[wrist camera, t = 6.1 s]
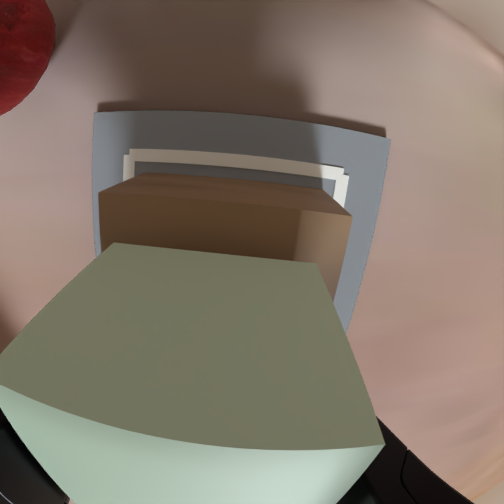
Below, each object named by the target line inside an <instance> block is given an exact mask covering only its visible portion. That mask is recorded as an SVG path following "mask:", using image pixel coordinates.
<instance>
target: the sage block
mask: <svg viewBox="0 0 504 504" xmlns="http://www.w3.org/2000/svg"><path fill="white" fill-rule="evenodd" d="M0 408H1V409H2V411H3V413H4V414H5V416H6V417H7V419H8V421H9V422H10V424H11V425H12V427H13V428H14V430H15V431H16V433H17V434H18V435H19V437H20V438H21V440H22V441H23V442H24V444H25V445H26V447H27V448H28V449H29V451H30V452H31V453H32V455H33V456H34V457H35V458H36V460H37V461H38V462H39V463H40V465H41V466H42V467H43V468H44V470H45V471H46V472H47V473H48V474H49V476H50V477H51V478H52V479H53V480H54V481H55V482H56V484H57V485H58V486H59V487H60V488H61V489H62V490H63V491H64V492H65V493H66V494H67V495H68V497H69V498H70V499H71V500H72V501H73V502H74V503H75V504H336V503H337V502H338V501H339V500H340V499H341V498H342V497H343V496H344V495H345V493H346V492H347V491H348V490H349V489H350V488H351V487H352V486H353V484H354V483H355V482H356V481H357V480H358V479H359V477H360V476H361V475H362V474H363V473H364V471H365V470H366V469H367V468H368V466H369V465H370V464H371V463H372V461H373V460H374V459H375V457H376V456H377V455H378V453H379V452H380V451H381V449H382V448H383V447H384V445H385V442H384V439H383V436H382V433H381V430H380V427H379V424H378V421H377V418H376V415H375V412H374V409H373V406H372V403H371V401H370V398H369V395H368V392H367V389H366V387H365V384H364V381H363V378H362V376H361V373H360V370H359V368H358V365H357V362H356V360H355V357H354V354H353V352H352V349H351V347H350V344H349V341H348V339H347V336H346V334H345V331H344V329H343V326H342V324H341V321H340V319H339V316H338V314H337V311H336V309H335V306H334V304H333V301H332V299H331V297H330V294H329V292H328V289H327V287H326V285H325V282H324V280H323V277H322V275H321V273H320V270H319V268H318V266H317V263H308V262H298V261H288V260H278V259H268V258H258V257H249V256H239V255H229V254H219V253H209V252H200V251H190V250H181V249H171V248H161V247H152V246H143V245H133V244H124V243H113V244H111V245H110V246H109V247H108V248H107V249H106V250H105V251H103V252H102V253H101V254H100V255H99V256H98V257H97V258H96V259H94V260H93V261H92V262H91V263H90V264H89V265H88V266H87V267H86V268H84V269H83V270H82V271H81V272H80V273H79V274H78V275H77V276H76V277H75V278H74V279H73V280H72V281H70V282H69V283H68V284H67V285H66V286H65V287H64V288H63V289H62V290H61V291H60V292H59V293H58V294H57V295H56V296H55V297H54V298H53V299H52V300H51V301H50V302H49V303H48V304H47V305H46V306H45V307H44V308H43V309H42V310H41V311H40V312H39V313H38V314H37V315H36V316H35V317H34V318H33V319H32V320H31V321H30V322H29V323H28V324H27V325H26V326H25V327H24V328H23V330H22V331H21V332H20V333H19V334H18V335H17V336H16V337H15V338H14V339H13V340H12V341H11V343H10V344H9V345H8V346H7V347H6V348H5V349H4V350H3V352H2V353H1V354H0Z"/></svg>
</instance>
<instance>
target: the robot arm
mask: <svg viewBox="0 0 504 504" xmlns="http://www.w3.org/2000/svg"><path fill="white" fill-rule="evenodd" d="M376 418H377V421H378V424H379V427H380V430H381V433H382V436H383V439H384V442H385V445H384V447H383V448H382V449H381V451H380V452H379V453H378V455H377V456H376V457H375V459H374V460H373V461H372V463H371V464H370V465H369V466H368V468H367V469H366V470H365V471H364V473H363V474H362V475H361V476H360V477H359V479H358V480H357V481H356V482H355V483H354V484H353V486H352V487H351V488H350V489H349V490H348V491H347V492H346V493H345V495H344V496H343V497H342V498H341V499H340V500H339V501H338V502H337V503H336V504H474V503H473V502H471V501H470V500H468V499H467V498H466V497H464V496H463V495H462V494H460V493H459V492H458V491H456V490H455V489H454V488H452V487H451V486H450V485H448V484H447V483H446V482H445V481H443V480H442V479H441V478H440V477H438V476H437V475H436V474H435V473H434V472H432V471H431V470H430V469H429V468H428V467H427V466H426V465H425V464H424V463H423V462H422V461H421V460H420V459H419V458H418V457H417V456H416V455H415V454H414V453H412V452H411V451H410V450H407V447H406V446H405V445H404V444H403V443H402V442H401V441H400V440H399V439H398V438H397V437H396V436H395V435H394V434H393V433H392V432H391V431H390V430H389V429H388V428H387V427H386V425H385V424H384V423H383V422H382V421H381V420H380V419H379V418H378V417H377V416H376ZM69 500H70V498H69V497H68V495H67V494H66V493H65V492H64V491H63V490H62V489H61V488H60V487H59V486H58V485H57V484H56V482H55V481H54V480H53V479H52V478H51V477H50V476H49V474H48V473H47V472H46V471H45V470H44V468H43V467H42V466H41V465H40V463H39V462H38V461H37V460H36V458H35V457H34V456H33V455H32V453H31V452H30V451H29V449H28V448H27V447H26V445H25V444H24V442H23V441H22V440H21V438H20V437H19V435H18V434H17V433H16V431H15V430H14V428H13V427H12V425H11V424H10V422H9V421H8V419H7V417H6V416H5V414H4V413H3V411H2V409H1V408H0V504H68V503H69Z"/></svg>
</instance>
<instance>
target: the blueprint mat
mask: <svg viewBox="0 0 504 504" xmlns="http://www.w3.org/2000/svg"><path fill="white" fill-rule="evenodd" d="M390 140H391V139H389V138H385V137H380V136H376V135H372V134H367V133H363V132H358V131H353V130H348V129H343V128H338V127H333V126H327V125H322V124H316V123H309V122H303V121H296V120H289V119H282V118H274V117H265V116H256V115H245V114H234V113H220V112H202V111H168V110H148V111H114V112H97V113H94V128H93V150H92V202H93V224H94V240H95V252H96V258H97V257H98V256H99V255H100V254H101V244H100V228H99V204H98V192H100V191H102V190H105V189H107V188H109V187H112V186H114V185H116V184H118V183H121V182H123V181H126V180H128V179H130V178H133V177H135V176H138V175H140V174H143V173H164V174H181V175H195V176H208V177H220V178H231V179H242V180H252V181H261V182H270V183H279V184H287V185H295V186H302V187H310V188H317V189H323V190H324V191H325V192H326V193H328V194H329V195H330V196H331V197H332V198H333V199H334V200H335V201H337V202H338V203H339V204H340V205H341V206H342V207H343V208H344V209H345V210H346V211H347V212H349V213H350V214H351V215H352V216H353V218H352V223H351V228H350V233H349V238H348V242H347V247H346V252H345V256H344V261H343V265H342V269H341V273H340V278H339V282H338V286H337V290H336V294H335V298H334V302H333V304H334V306H335V309H336V311H337V314H338V316H339V319H340V321H341V324H342V326H343V329H344V331H345V334H346V332H347V329H348V326H349V323H350V320H351V316H352V313H353V310H354V306H355V303H356V299H357V296H358V292H359V289H360V285H361V282H362V278H363V274H364V270H365V266H366V262H367V259H368V254H369V250H370V246H371V242H372V238H373V233H374V229H375V224H376V220H377V215H378V210H379V205H380V200H381V195H382V189H383V184H384V178H385V172H386V166H387V160H388V154H389V147H390Z"/></svg>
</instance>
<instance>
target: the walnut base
mask: <svg viewBox="0 0 504 504" xmlns="http://www.w3.org/2000/svg"><path fill="white" fill-rule="evenodd" d="M98 204H99V228H100V244H101V253H102V252H103V251H105V250H106V249H107V248H108V247H109V246H110V245H111V244H113V243H124V244H133V245H143V246H152V247H161V248H171V249H181V250H190V251H200V252H209V253H219V254H229V255H239V256H249V257H258V258H268V259H278V260H288V261H298V262H308V263H317V266H318V268H319V270H320V273H321V275H322V277H323V280H324V282H325V285H326V287H327V289H328V292H329V294H330V297H331V299H332V301H333V302H334V298H335V294H336V290H337V286H338V282H339V278H340V273H341V269H342V265H343V261H344V256H345V252H346V247H347V242H348V238H349V233H350V228H351V223H352V218H353V216H352V215H351V214H350V213H349V212H347V211H346V210H345V209H344V208H343V207H342V206H341V205H340V204H339V203H338V202H337V201H335V200H334V199H333V198H332V197H331V196H330V195H329V194H328V193H326V192H325V191H324V190H323V189H317V188H310V187H302V186H295V185H287V184H279V183H270V182H261V181H252V180H242V179H231V178H220V177H208V176H195V175H181V174H164V173H143V174H140V175H138V176H135V177H133V178H130V179H128V180H126V181H123V182H121V183H118V184H116V185H114V186H112V187H109V188H107V189H105V190H102V191H100V192H98Z"/></svg>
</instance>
